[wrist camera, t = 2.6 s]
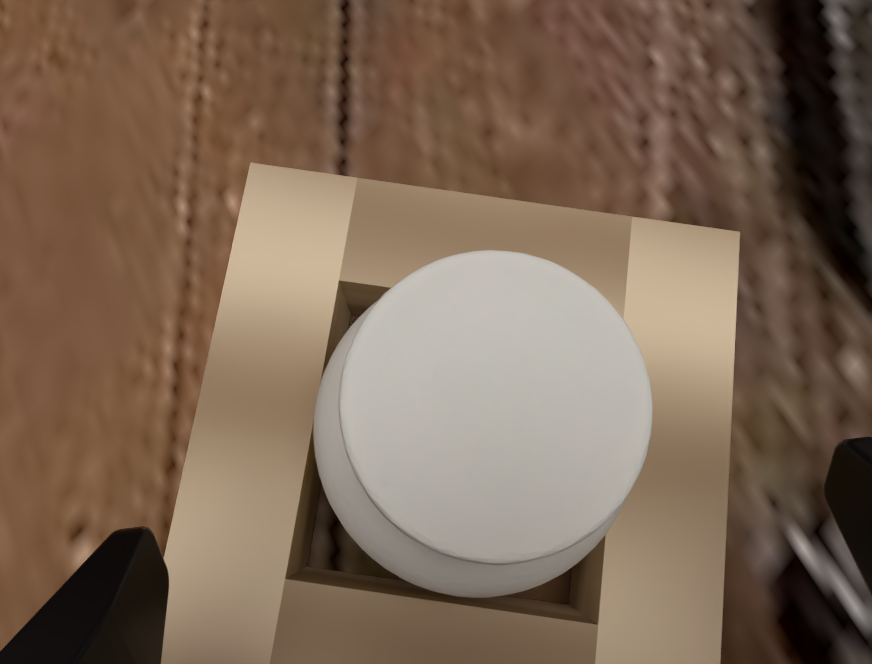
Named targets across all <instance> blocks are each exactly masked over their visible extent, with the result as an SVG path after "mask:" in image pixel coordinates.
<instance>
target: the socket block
mask: <svg viewBox="0 0 872 664" xmlns="http://www.w3.org/2000/svg"><path fill="white" fill-rule="evenodd" d="M739 241H740V232H737V231H730V230H722V229H715V228H708V227H701V226H694V225H687V224H680V223H673V222H666V221H659V220H652V219H645V218H638V217H630V216H623V215H616V214H609V213H602V212H595V211H588V210H581V209H574V208H567V207H560V206H553V205H546V204H539V203H531V202H524V201H517V200H510V199H503V198H496V197H489V196H482V195H475V194H468V193H461V192H454V191H447V190H439V189H432V188H425V187H418V186H411V185H404V184H397V183H390V182H383V181H376V180H369V179H362V178H355V177H347V176H340V175H333V174H326V173H319V172H312V171H305V170H298V169H291V168H284V167H277V166H270V165H263V164H255V163H250V167H249V172H248V177H247V181H246V186H245V190H244V195H243V199H242V204H241V208H240V213H239V218H238V222H237V227H236V231H235V236H234V240H233V245H232V250H231V254H230V259H229V263H228V268H227V272H226V277H225V282H224V286H223V291H222V295H221V300H220V304H219V309H218V313H217V318H216V323H215V327H214V332H213V336H212V341H211V345H210V350H209V355H208V359H207V364H206V368H205V373H204V377H203V382H202V386H201V391H200V396H199V400H198V405H197V409H196V414H195V418H194V423H193V428H192V432H191V437H190V441H189V446H188V450H187V455H186V459H185V464H184V469H183V473H182V478H181V482H180V487H179V491H178V496H177V501H176V505H175V510H174V514H173V519H172V523H171V528H170V532H169V537H168V542H167V546H166V551H165V555H164V561H165V564H166V566H167V569H168V574H169V593H168V602H167V612H166V621H165V630H164V640H163V649H162V658H161V664H720V660H721V638H722V616H723V594H724V572H725V550H726V528H727V506H728V484H729V462H730V440H731V417H732V395H733V373H734V351H735V329H736V307H737V285H738V263H739ZM482 250H499V251H511V252H519V253H526V254H529V255H533V256H536V257H539V258H543V259H546V260H549V261H551V262H553V263H556V264H558V265H560V266H562V267H564V268H566V269H568V270H569V271H571V272H572V273H574V274H576V275H577V276H579V277H581V278H582V279H583V280H585V281H586V282H587V283H589V284H590V285H592V286H593V287H594V288H596V289H597V290H598V291H599V292H600V293H601V294H602V295H603V296H604V297H605V298H606V299H607V300H608V301H609V302H610V303H611V304H612V305H613V307H614V308H615V309H616V310H617V311H618V312H619V314H620V315H621V317H622V318H623V319H624V321H625V322H626V323H627V325H628V327H629V328H630V330H631V332H632V334H633V336H634V338H635V339H636V341H637V343H638V345H639V347H640V350H641V353H642V355H643V358H644V361H645V364H646V368H647V372H648V376H649V379H650V385H651V391H652V397H653V419H652V431H651V437H650V442H649V446H648V451H647V455H646V458H645V461H644V463H643V466H642V469H641V472H640V474H639V476H638V478H637V480H636V482H635V484H634V486H633V488H632V489H631V491H630V492H629V494H628V496H627V498H626V500H625V502H624V505H623V507H622V509H621V511H620V513H619V514H618V516H617V518H616V520H615V521H614V523H613V525H612V526H611V528H610V529H609V530H608V532H607V533H606V535H605V536H604V537H603V538H602V540H601V541H600V542H599V543H598V544H597V546H596V547H595V548H594V549H592V550H591V551H590V552H589V553H588V554H587V555H586V556H585V557H584V558H583V559H582V560H581V561H579V562H578V563H577V564H576V565H574V566H573V567H572V569H571V580H570V590H569V601H568V605H567V604H560V603H553V602H546V601H539V600H532V599H525V598H519V597H512V596H505V595H503V596H496V597H489V598H468V597H457V596H452V595H447V594H443V593H438V592H434V591H431V590H428V589H425V588H422V587H419V586H417V585H414V584H412V583H410V582H407V581H402V580H395V579H388V578H382V577H375V576H368V575H361V574H354V573H347V572H341V571H334V570H327V569H320V568H313V567H307V563H308V558H309V552H310V546H311V541H312V535H313V529H314V523H315V518H316V512H317V506H318V500H319V495H320V489H321V483H322V482H321V479H320V476H319V472H318V467H317V463H316V458H315V450H314V439H313V426H314V412H315V406H316V399H317V395H318V391H319V387H320V383H321V380H322V376H323V374H324V371H325V369H326V367H327V365H328V362H329V360H330V358H331V356H332V354H333V352H334V350H335V349H336V347H337V345H338V343H339V342H340V340H341V339H342V338H343V336H344V335H345V333H346V332H347V331H348V328H349V323H350V317H351V315H358V316H361V315H362V314H363V313H364V312H365V311H366V310H367V309H368V308H369V307H370V306H371V305H373V304H374V303H375V302H377V301H378V300H379V299H380V298H381V297H382V295H383V294H384V293H386V292H387V291H388V290H389V289H390V288H392V287H393V286H394V285H395V284H397V283H398V282H399V281H400V280H402V279H403V278H404V277H406V276H407V275H409V274H410V273H412V272H414V271H416V270H418V269H419V268H421V267H423V266H425V265H427V264H429V263H432V262H434V261H436V260H438V259H442V258H445V257H448V256H452V255H456V254H461V253H466V252H472V251H482Z"/></svg>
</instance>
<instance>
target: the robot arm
mask: <svg viewBox="0 0 872 664" xmlns="http://www.w3.org/2000/svg"><path fill="white" fill-rule="evenodd" d="M824 496H825V500H826V502H827V505H828V507H829V509H830V511H831V513H832V515H833V517H834V519H835V522H836V524H837V526H838V528H839V530H840V532H841V534H842V536H843V538H844V540H845V542H846V544H847V546H848V548H849V550H850V553H851V555H852V557H853V559H854V561H855V563H856V565H857V567H858V569H859V571H860V573H861V575H862V577H863V579H864V581H865V583H866V586H867V588H868V590H869V592H870V593H871V595H872V437H862V438H854V439H846V440H842V441H840V442H839V443H838V444H837V445H836V447H835V449H834V453H833V456H832V459H831V463H830V466H829V469H828V472H827V476H826V479H825V483H824ZM168 593H169V574H168V569H167V566H166V564H165V561H164V559H163V556H162V554H161V551H160V549H159V546H158V544H157V541H156V539H155V536H154V534H153V532H152V530H151V529H150V528H148V527H144V526H142V527H134V528H126V529H119V530H116V531H115V532H113V533H112V534H111V535H110V536H109V537H108V538H107V539H106V540H105V541H104V542H103V543H102V544H101V545H100V546H99V547H98V548H97V549H96V550H95V551H94V552H93V554H92V555H91V556H90V557H89V558H88V559H87V560H86V561H85V562H84V563H83V564H82V565H81V566H80V567H79V568H78V569H77V571H76V572H75V573H74V574H73V575H72V576H71V577H70V578H69V579H68V580H67V581H66V582H65V583H64V584H63V585H62V586H61V588H60V589H59V590H58V591H57V592H56V593H55V594H54V595H53V596H52V597H51V598H50V599H49V600H48V601H47V602H46V603H45V604H44V606H43V607H42V608H41V609H40V610H39V611H38V612H37V613H36V614H35V615H34V616H33V617H32V618H31V619H30V620H29V621H28V623H27V624H26V625H25V626H24V627H23V628H22V629H21V630H20V631H19V632H18V633H17V634H16V635H15V636H14V637H13V638H12V640H11V641H10V642H9V643H8V644H7V645H6V646H5V647H4V648H3V649H2V650H1V651H0V664H161V658H162V649H163V640H164V630H165V621H166V612H167V602H168Z"/></svg>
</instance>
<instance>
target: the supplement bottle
mask: <svg viewBox="0 0 872 664" xmlns="http://www.w3.org/2000/svg"><path fill="white" fill-rule="evenodd" d="M652 419H653V397H652V391H651V385H650V379H649V376H648V372H647V368H646V364H645V361H644V358H643V355H642V353H641V350H640V347H639V345H638V343H637V341H636V339H635V338H634V336H633V334H632V332H631V330H630V328H629V327H628V325H627V323H626V322H625V321H624V319H623V318H622V317H621V315H620V314H619V312H618V311H617V310H616V309H615V308H614V307H613V305H612V304H611V303H610V302H609V301H608V300H607V299H606V298H605V297H604V296H603V295H602V294H601V293H600V292H599V291H598V290H597V289H596V288H594V287H593V286H592V285H590V284H589V283H587V282H586V281H585V280H583V279H582V278H581V277H579V276H577V275H576V274H574V273H572V272H571V271H569V270H568V269H566V268H564V267H562V266H560V265H558V264H556V263H553V262H551V261H549V260H546V259H543V258H539V257H536V256H533V255H529V254H526V253H519V252H511V251H499V250H482V251H472V252H466V253H461V254H456V255H452V256H448V257H445V258H442V259H438V260H436V261H434V262H432V263H429V264H427V265H425V266H423V267H421V268H419V269H418V270H416V271H414V272H412V273H410V274H409V275H407V276H406V277H404V278H403V279H402V280H400V281H399V282H398V283H397V284H395V285H394V286H393V287H392V288H390V289H389V290H388V291H387V292H386V293H384V294H383V295H382V297H381V298H380V299H379V300H378V301H377V302H375V303H374V304H373V305H371V306H370V307H369V308H368V309H367V310H366V311H365V312H364V313H363V314H362V315H361V316H360V317H359V318H358V319H357V320H356V321H355V322H354V323H353V324H352V326H351V327H350V328H349V329H348V331H347V332H346V333H345V335H344V336H343V338H342V339H341V340H340V342H339V343H338V345H337V347H336V349H335V350H334V352H333V354H332V356H331V358H330V360H329V362H328V365H327V367H326V369H325V371H324V374H323V376H322V380H321V383H320V387H319V391H318V395H317V399H316V406H315V412H314V426H313V439H314V450H315V458H316V463H317V467H318V472H319V476H320V479H321V482H322V485H323V488H324V491H325V494H326V496H327V499H328V501H329V503H330V505H331V507H332V509H333V510H334V512H335V514H336V516H337V517H338V519H339V520H340V522H341V524H342V525H343V527H344V528H345V530H346V531H347V533H348V534H349V535H350V536H351V537H352V538H353V540H354V541H355V542H356V543H357V544H358V546H359V547H360V548H361V549H362V550H363V551H365V552H366V553H367V554H368V555H369V556H370V557H371V558H372V559H373V560H375V561H376V562H377V563H378V564H380V565H381V566H382V567H384V568H385V569H387V570H388V571H390V572H391V573H393V574H395V575H397V576H398V577H400V578H402V579H403V580H405V581H407V582H410V583H412V584H414V585H417V586H419V587H422V588H425V589H428V590H431V591H434V592H438V593H443V594H447V595H452V596H457V597H468V598H489V597H496V596H503V595H509V594H513V593H518V592H522V591H525V590H528V589H531V588H534V587H537V586H540V585H542V584H544V583H546V582H548V581H550V580H552V579H554V578H555V577H557V576H559V575H561V574H563V573H564V572H566V571H567V570H569V569H570V568H572V567H573V566H574V565H576V564H577V563H578V562H579V561H581V560H582V559H583V558H584V557H585V556H586V555H587V554H588V553H589V552H590V551H591V550H592V549H594V548H595V547H596V546H597V544H598V543H599V542H600V541H601V540H602V538H603V537H604V536H605V535H606V533H607V532H608V530H609V529H610V528H611V526H612V525H613V523H614V521H615V520H616V518H617V516H618V514H619V513H620V511H621V509H622V507H623V505H624V502H625V500H626V498H627V496H628V494H629V492H630V491H631V489H632V488H633V486H634V484H635V482H636V480H637V478H638V476H639V474H640V472H641V469H642V466H643V463H644V461H645V458H646V455H647V451H648V446H649V442H650V437H651V431H652Z"/></svg>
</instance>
